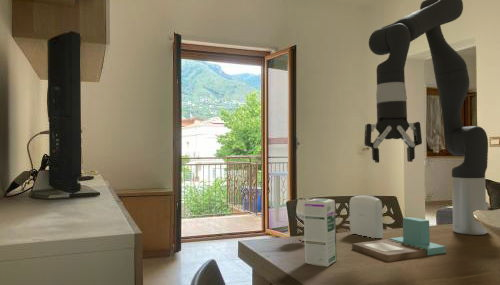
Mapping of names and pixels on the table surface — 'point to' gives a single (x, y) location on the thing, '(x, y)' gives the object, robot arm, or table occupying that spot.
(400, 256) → the board
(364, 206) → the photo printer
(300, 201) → the wineglass
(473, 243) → the table surface
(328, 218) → the syrup box
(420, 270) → the table surface
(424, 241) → the stub
